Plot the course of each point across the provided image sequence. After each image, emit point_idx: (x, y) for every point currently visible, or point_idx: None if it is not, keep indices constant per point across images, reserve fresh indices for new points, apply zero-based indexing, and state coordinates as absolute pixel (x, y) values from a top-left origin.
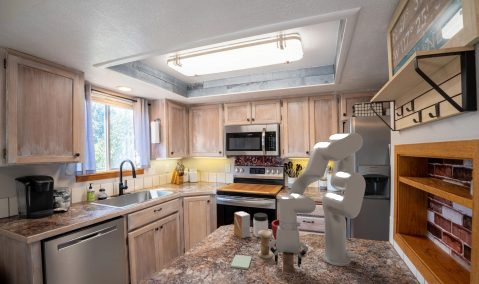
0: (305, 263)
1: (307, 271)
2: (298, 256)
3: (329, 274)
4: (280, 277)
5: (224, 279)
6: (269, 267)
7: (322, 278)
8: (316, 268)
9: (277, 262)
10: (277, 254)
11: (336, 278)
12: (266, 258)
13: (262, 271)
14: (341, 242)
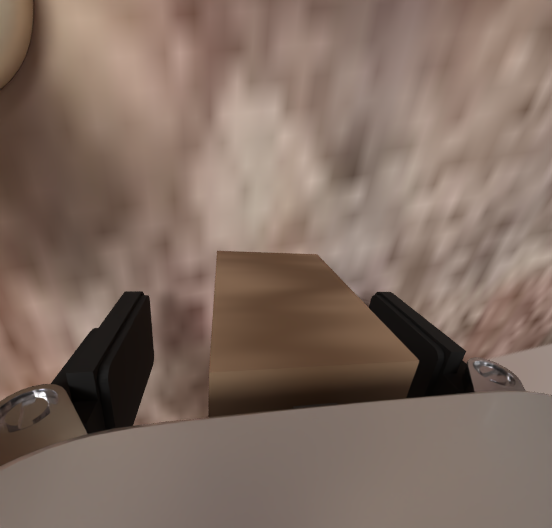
0: (448, 171)
1: (412, 300)
2: (433, 392)
3: (536, 306)
4: (196, 411)
5: None
6: (72, 305)
7: (470, 355)
8: (498, 245)
9: (145, 380)
10: (108, 421)
11: (546, 337)
12: None
13: (18, 380)
14: None
